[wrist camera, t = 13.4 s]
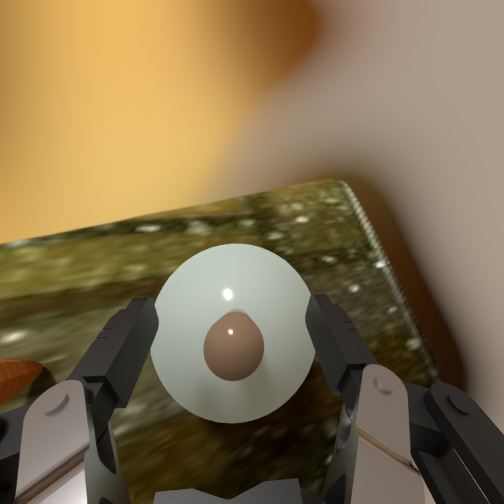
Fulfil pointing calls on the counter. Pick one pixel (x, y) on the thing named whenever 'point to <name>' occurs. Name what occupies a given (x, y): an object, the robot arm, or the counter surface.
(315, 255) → the counter surface
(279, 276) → the celadon lid
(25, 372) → the carrot
